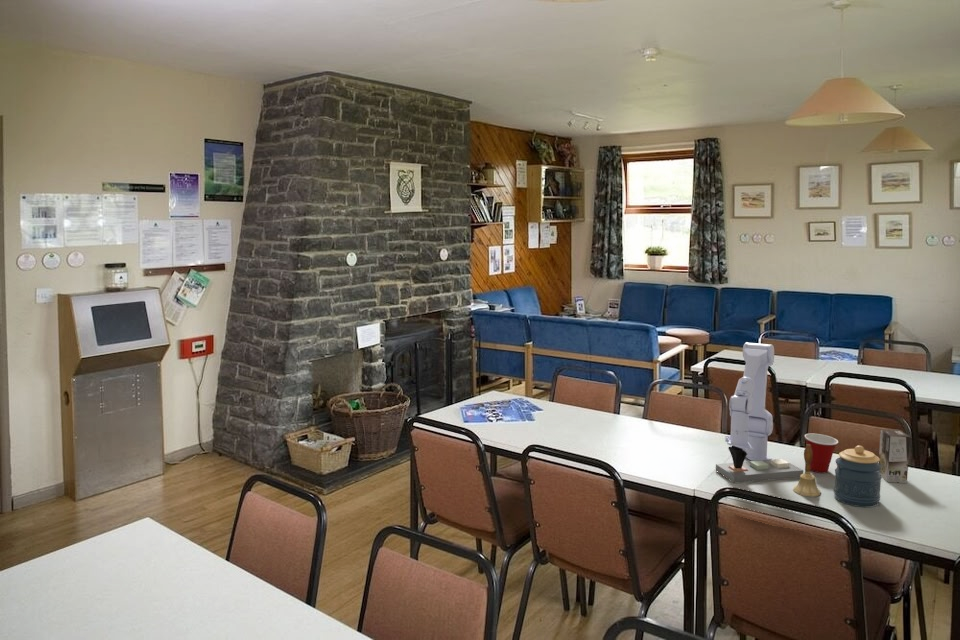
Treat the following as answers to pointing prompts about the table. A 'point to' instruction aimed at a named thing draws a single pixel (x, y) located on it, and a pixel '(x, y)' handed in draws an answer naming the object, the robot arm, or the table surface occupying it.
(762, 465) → the sage key
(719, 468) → the keypad
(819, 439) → the plastic cup
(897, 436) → the coffee box
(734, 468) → the terracotta key
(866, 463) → the canister
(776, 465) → the cream key
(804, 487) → the hand bell
